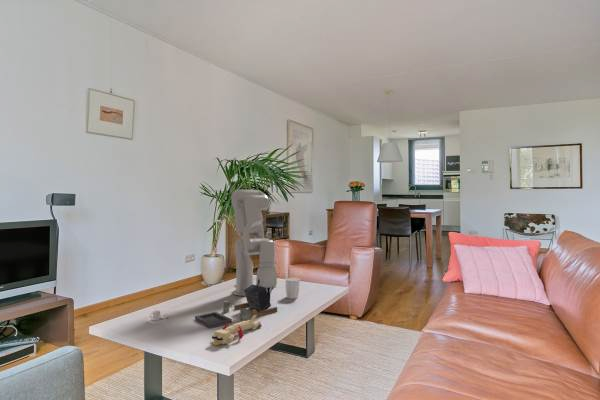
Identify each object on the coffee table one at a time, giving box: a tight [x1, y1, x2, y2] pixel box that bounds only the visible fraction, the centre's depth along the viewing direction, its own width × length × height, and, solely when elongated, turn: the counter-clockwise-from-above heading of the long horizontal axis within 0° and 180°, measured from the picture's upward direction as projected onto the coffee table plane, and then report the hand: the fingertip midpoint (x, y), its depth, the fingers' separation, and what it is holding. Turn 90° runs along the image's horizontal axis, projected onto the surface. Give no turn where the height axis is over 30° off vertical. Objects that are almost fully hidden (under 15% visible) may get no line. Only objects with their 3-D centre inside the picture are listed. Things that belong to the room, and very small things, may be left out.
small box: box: [244, 283, 272, 312], centre depth 173 cm, size 11×6×10 cm, turn 47°
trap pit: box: [194, 311, 233, 329], centre depth 157 cm, size 14×10×2 cm
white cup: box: [285, 277, 301, 300], centre depth 196 cm, size 8×8×10 cm
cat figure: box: [211, 309, 262, 346], centre depth 141 cm, size 10×9×25 cm
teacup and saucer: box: [146, 310, 169, 324], centre depth 159 cm, size 9×8×4 cm
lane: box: [222, 300, 278, 322], centre depth 170 cm, size 17×20×5 cm
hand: (266, 301), depth 177 cm, fingers closed
